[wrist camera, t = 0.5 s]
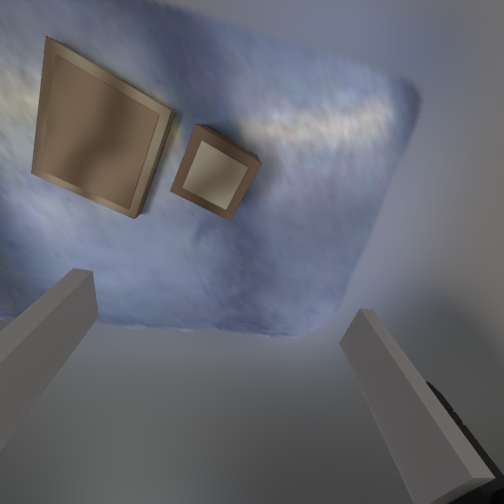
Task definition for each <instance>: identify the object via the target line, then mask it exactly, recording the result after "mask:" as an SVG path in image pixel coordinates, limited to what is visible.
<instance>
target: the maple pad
mask: <svg viewBox="0 0 504 504" xmlns="http://www.w3.org/2000/svg"><path fill="white" fill-rule="evenodd" d="M175 113H176V112H175V111H174V110H172V109H171V108H169V107H167V106H166V105H164V104H162V103H161V102H159V101H157V100H156V99H154V98H152V97H151V96H149V95H147V94H146V93H144V92H142V91H141V90H139V89H137V88H136V87H134V86H132V85H131V84H129V83H127V82H126V81H124V80H122V79H121V78H119V77H117V76H116V75H114V74H112V73H111V72H109V71H107V70H106V69H104V68H102V67H101V66H99V65H97V64H96V63H94V62H92V61H91V60H89V59H87V58H86V57H84V56H82V55H81V54H79V53H77V52H76V51H74V50H72V49H71V48H69V47H67V46H66V45H64V44H62V43H61V42H59V41H56V40H54V39H52V38H50V37H48V36H46V42H45V51H44V60H43V69H42V79H41V88H40V97H39V106H38V116H37V125H36V134H35V143H34V153H33V162H32V171H31V174H34V175H36V176H38V177H40V178H43V179H45V180H47V181H49V182H52V183H54V184H56V185H58V186H61V187H63V188H65V189H67V190H70V191H72V192H74V193H77V194H79V195H81V196H83V197H86V198H88V199H90V200H92V201H95V202H97V203H99V204H101V205H104V206H106V207H108V208H110V209H113V210H115V211H117V212H119V213H122V214H124V215H126V216H128V217H131V218H133V219H135V218H137V217H138V216H139V215H140V214H141V211H142V208H143V205H144V202H145V199H146V197H147V194H148V191H149V188H150V185H151V182H152V179H153V176H154V174H155V171H156V168H157V165H158V162H159V159H160V156H161V153H162V151H163V148H164V145H165V142H166V139H167V136H168V133H169V130H170V128H171V125H172V122H173V119H174V116H175Z"/></svg>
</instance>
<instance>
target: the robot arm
mask: <svg viewBox="0 0 504 504" xmlns="http://www.w3.org/2000/svg"><path fill="white" fill-rule="evenodd" d="M98 316H99V315H98V307H97V300H96V293H95V285H94V278H93V271H89V270H82V269H75V268H73V269H72V270H71V271H70V272H69V273H68V274H67V275H65V276H64V277H63V278H62V279H61V280H60V281H58V282H57V283H56V284H55V285H54V286H53V287H52V288H50V289H49V290H48V291H47V292H46V293H45V294H43V295H42V296H41V297H40V298H39V299H38V300H37V301H35V302H34V303H33V304H32V305H31V306H30V307H29V308H27V309H26V310H25V311H24V312H23V313H22V314H20V315H19V316H18V317H17V318H16V319H15V320H14V321H13V322H11V323H10V324H9V325H8V326H7V327H5V328H4V329H3V330H2V331H1V332H0V450H1V449H2V448H3V446H4V445H5V444H6V442H7V441H8V439H9V438H10V437H11V435H12V434H13V433H14V431H15V430H16V429H17V427H18V426H19V424H20V423H21V422H22V420H23V419H24V417H25V416H26V415H27V413H28V412H29V411H30V409H31V408H32V407H33V405H34V404H35V403H36V401H37V400H38V398H39V397H40V396H41V394H42V393H43V391H44V390H45V389H46V388H47V386H48V385H49V383H50V382H51V381H52V379H53V378H54V377H55V375H56V374H57V372H58V371H59V370H60V368H61V367H62V366H63V364H64V363H65V362H66V360H67V359H68V357H69V356H70V355H71V353H72V352H73V351H74V349H75V348H76V346H77V345H78V344H79V342H80V341H81V340H82V338H83V337H84V336H85V334H86V333H87V331H88V330H89V329H90V327H91V326H92V325H93V323H94V322H95V321H96V319H97V318H98ZM340 346H341V348H342V350H343V352H344V354H345V356H346V358H347V361H348V363H349V365H350V367H351V369H352V371H353V373H354V376H355V378H356V380H357V382H358V384H359V386H360V388H361V391H362V393H363V395H364V397H365V399H366V401H367V403H368V406H369V408H370V410H371V412H372V414H373V416H374V419H375V421H376V423H377V425H378V427H379V429H380V431H381V433H382V436H383V438H384V440H385V442H386V444H387V446H388V449H389V451H390V453H391V455H392V457H393V459H394V461H395V464H396V466H397V468H398V470H399V472H400V474H401V477H402V478H403V481H404V483H405V485H406V487H407V489H408V491H409V494H410V496H411V498H412V500H413V502H414V504H504V475H503V474H502V473H501V472H500V470H499V469H498V468H497V466H496V465H495V464H494V462H493V461H492V460H491V459H490V457H489V456H488V455H487V453H486V452H485V451H484V449H483V448H482V447H481V445H480V444H479V443H478V441H477V440H476V439H475V438H474V436H473V435H472V433H471V432H470V431H469V429H468V428H467V427H466V426H465V425H463V423H462V420H461V419H460V418H459V416H458V415H457V414H456V412H454V411H453V408H452V407H451V406H450V404H449V403H448V402H447V400H446V399H445V398H444V397H443V395H442V394H441V393H440V392H439V391H437V389H435V388H434V387H433V386H432V385H431V384H430V383H429V382H425V381H424V379H423V378H422V377H421V375H420V374H419V373H418V371H417V370H416V369H415V367H414V366H413V365H412V363H411V362H410V360H409V359H408V358H407V356H406V355H405V353H404V352H403V351H402V349H401V348H400V347H399V345H398V344H397V342H396V341H395V340H394V339H393V337H392V336H391V334H390V333H389V332H388V330H387V329H386V327H385V326H384V325H383V324H382V322H381V321H380V319H379V318H378V317H377V315H376V314H375V312H374V311H373V310H368V309H362V308H360V309H359V311H358V313H357V314H356V316H355V317H354V319H353V321H352V323H351V324H350V326H349V328H348V329H347V331H346V333H345V334H344V336H343V338H342V339H341V341H340Z"/></svg>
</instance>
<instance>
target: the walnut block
mask: <svg viewBox="0 0 504 504" xmlns="http://www.w3.org/2000/svg"><path fill="white" fill-rule="evenodd" d="M261 164H262V163H261V161H260V160H259V158H258V156H257V155H255V154H253V153H252V152H250V151H249V150H247V149H245V148H244V147H242V146H240V145H239V144H237V143H235V142H234V141H232V140H230V139H229V138H227V137H226V136H224V135H222V134H221V133H219V132H217V131H216V130H214V129H212V128H211V127H209V126H207V125H204V124H196V126H195V129H194V131H193V134H192V136H191V139H190V141H189V144H188V146H187V149H186V152H185V154H184V157H183V159H182V162H181V164H180V167H179V169H178V172H177V175H176V177H175V180H174V182H173V185H172V187H171V190H170V191H171V192H173V193H175V194H177V195H179V196H181V197H183V198H185V199H187V200H189V201H191V202H193V203H195V204H197V205H199V206H201V207H203V208H205V209H207V210H209V211H211V212H213V213H215V214H217V215H219V216H221V217H223V218H225V219H227V220H229V221H231V219H232V217H233V215H234V213H235V211H236V210H237V208H238V206H239V204H240V202H241V200H242V199H243V197H244V195H245V193H246V191H247V189H248V188H249V186H250V184H251V182H252V180H253V178H254V177H255V175H256V173H257V171H258V169H259V167H260V166H261Z"/></svg>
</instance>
